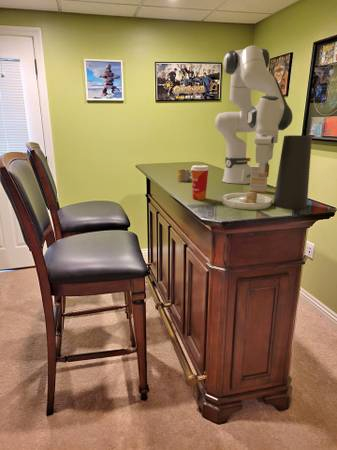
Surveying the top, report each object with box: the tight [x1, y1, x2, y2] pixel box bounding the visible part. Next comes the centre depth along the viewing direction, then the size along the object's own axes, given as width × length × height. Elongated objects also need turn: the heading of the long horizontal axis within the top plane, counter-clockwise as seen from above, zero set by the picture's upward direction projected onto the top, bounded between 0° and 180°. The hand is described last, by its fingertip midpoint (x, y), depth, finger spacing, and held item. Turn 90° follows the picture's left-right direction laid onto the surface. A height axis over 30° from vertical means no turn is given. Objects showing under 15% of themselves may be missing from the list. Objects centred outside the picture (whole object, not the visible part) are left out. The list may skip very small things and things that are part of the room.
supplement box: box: [249, 164, 268, 194], centre depth 170 cm, size 8×5×13 cm, turn 71°
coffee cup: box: [190, 164, 210, 201], centre depth 154 cm, size 8×8×15 cm
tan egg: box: [246, 191, 258, 203], centre depth 141 cm, size 4×4×5 cm
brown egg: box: [258, 163, 270, 178], centre depth 140 cm, size 4×4×5 cm
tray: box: [220, 192, 273, 211], centre depth 147 cm, size 21×21×2 cm
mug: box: [176, 169, 192, 183], centre depth 199 cm, size 12×7×7 cm, turn 95°
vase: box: [272, 134, 313, 210], centre depth 140 cm, size 14×14×29 cm
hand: (263, 172), depth 141 cm, fingers closed on brown egg, 4 cm apart
